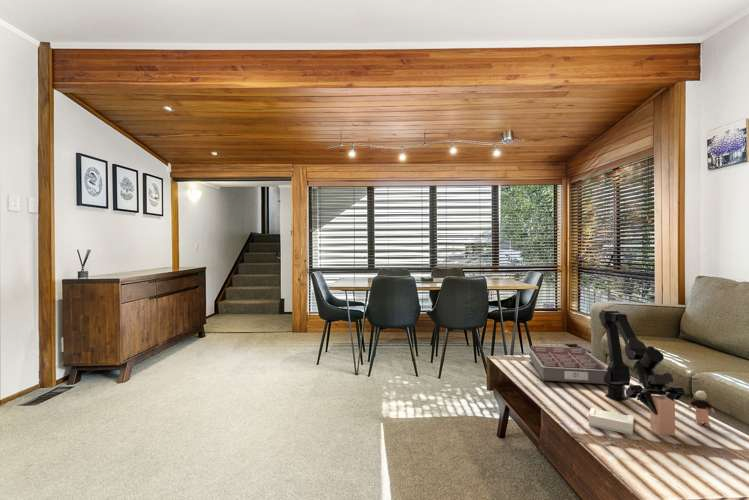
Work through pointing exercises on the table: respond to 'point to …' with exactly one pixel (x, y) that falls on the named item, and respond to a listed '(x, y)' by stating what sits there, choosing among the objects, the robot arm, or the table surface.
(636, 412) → the table surface
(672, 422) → the tall peach block
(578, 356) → the organizer tray
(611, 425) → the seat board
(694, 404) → the grandmother figurine
